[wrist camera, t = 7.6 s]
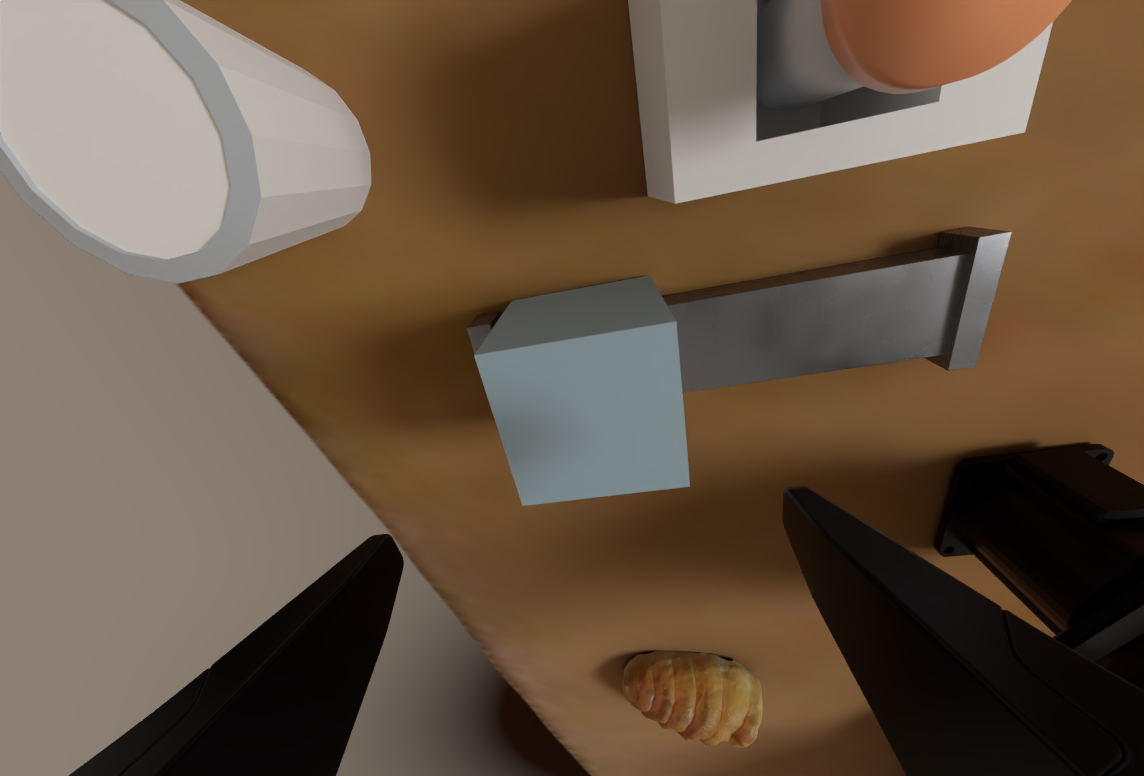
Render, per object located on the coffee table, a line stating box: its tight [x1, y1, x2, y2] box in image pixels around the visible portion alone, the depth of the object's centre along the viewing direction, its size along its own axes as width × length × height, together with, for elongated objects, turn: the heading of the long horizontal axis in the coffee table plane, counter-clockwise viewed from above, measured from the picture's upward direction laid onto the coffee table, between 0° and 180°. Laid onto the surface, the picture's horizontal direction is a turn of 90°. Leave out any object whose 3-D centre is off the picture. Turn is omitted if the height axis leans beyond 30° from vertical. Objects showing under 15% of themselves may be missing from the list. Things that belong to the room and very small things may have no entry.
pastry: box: [621, 651, 763, 748], centre depth 29 cm, size 9×7×4 cm
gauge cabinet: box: [628, 0, 1053, 204], centre depth 11 cm, size 6×8×6 cm
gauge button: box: [756, 0, 1072, 111], centre depth 8 cm, size 4×4×6 cm
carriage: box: [474, 276, 690, 506], centre depth 16 cm, size 6×6×6 cm
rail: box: [466, 227, 1011, 393], centre depth 17 cm, size 5×20×2 cm, turn 101°
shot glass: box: [0, 0, 371, 284], centre depth 13 cm, size 7×7×7 cm
